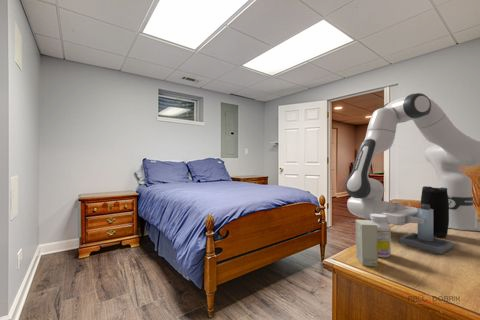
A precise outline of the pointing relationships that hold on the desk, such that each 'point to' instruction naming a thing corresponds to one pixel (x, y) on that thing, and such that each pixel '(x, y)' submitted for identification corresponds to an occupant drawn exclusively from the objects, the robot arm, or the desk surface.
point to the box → (427, 244)
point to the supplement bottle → (382, 235)
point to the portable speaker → (437, 209)
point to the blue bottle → (425, 229)
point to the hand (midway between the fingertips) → (428, 220)
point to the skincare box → (366, 242)
